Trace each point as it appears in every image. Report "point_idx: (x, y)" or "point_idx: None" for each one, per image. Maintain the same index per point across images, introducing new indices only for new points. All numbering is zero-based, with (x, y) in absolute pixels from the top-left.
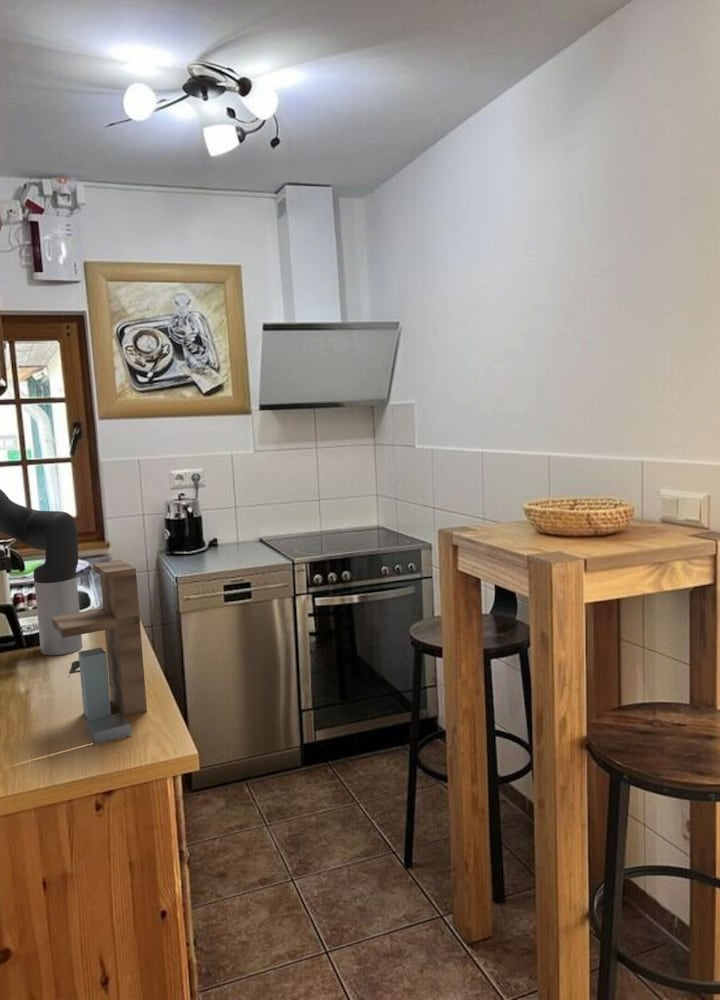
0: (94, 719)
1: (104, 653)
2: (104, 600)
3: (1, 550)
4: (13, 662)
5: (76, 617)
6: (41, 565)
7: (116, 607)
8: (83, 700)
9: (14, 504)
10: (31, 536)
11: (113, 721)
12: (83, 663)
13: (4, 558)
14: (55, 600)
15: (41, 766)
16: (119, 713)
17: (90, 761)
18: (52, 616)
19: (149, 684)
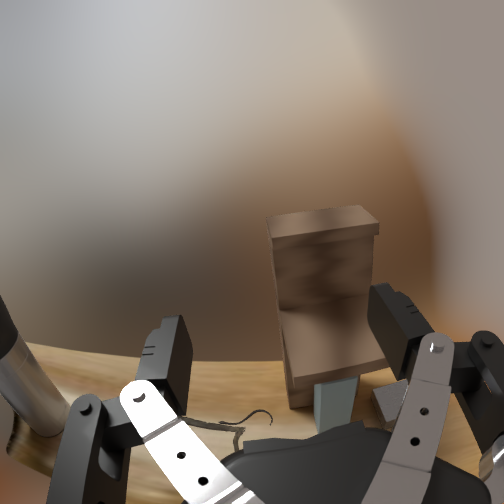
0: (384, 413)
1: None
2: (294, 293)
3: (179, 317)
4: (44, 469)
5: (327, 340)
6: None
7: (371, 276)
8: (325, 425)
9: None
10: None
11: (397, 394)
12: (355, 384)
13: (393, 294)
14: (24, 372)
15: (458, 457)
16: (375, 390)
17: (457, 413)
18: (34, 393)
19: (254, 370)
